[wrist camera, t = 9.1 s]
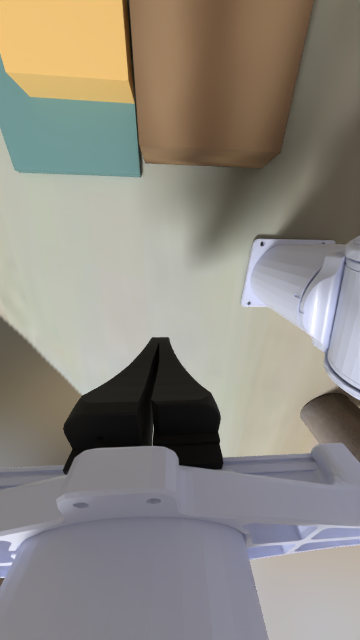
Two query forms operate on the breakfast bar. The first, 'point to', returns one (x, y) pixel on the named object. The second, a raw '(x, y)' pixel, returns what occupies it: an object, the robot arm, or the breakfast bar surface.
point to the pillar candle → (334, 421)
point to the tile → (68, 48)
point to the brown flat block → (215, 78)
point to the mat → (68, 133)
